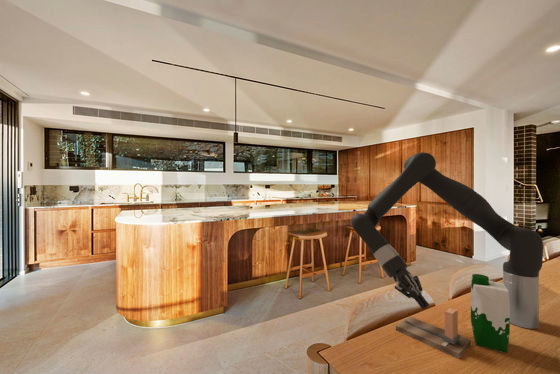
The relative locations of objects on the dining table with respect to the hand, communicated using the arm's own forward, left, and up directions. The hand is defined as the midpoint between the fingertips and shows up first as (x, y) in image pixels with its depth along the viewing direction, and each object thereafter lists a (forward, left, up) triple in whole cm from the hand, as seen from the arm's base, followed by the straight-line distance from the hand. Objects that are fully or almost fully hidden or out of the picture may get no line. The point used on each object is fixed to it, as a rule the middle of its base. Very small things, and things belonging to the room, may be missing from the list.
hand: (426, 307), depth 82 cm
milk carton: (-11, +13, -9) cm, 20 cm away
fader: (0, +7, -7) cm, 10 cm away
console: (0, +1, -9) cm, 9 cm away
